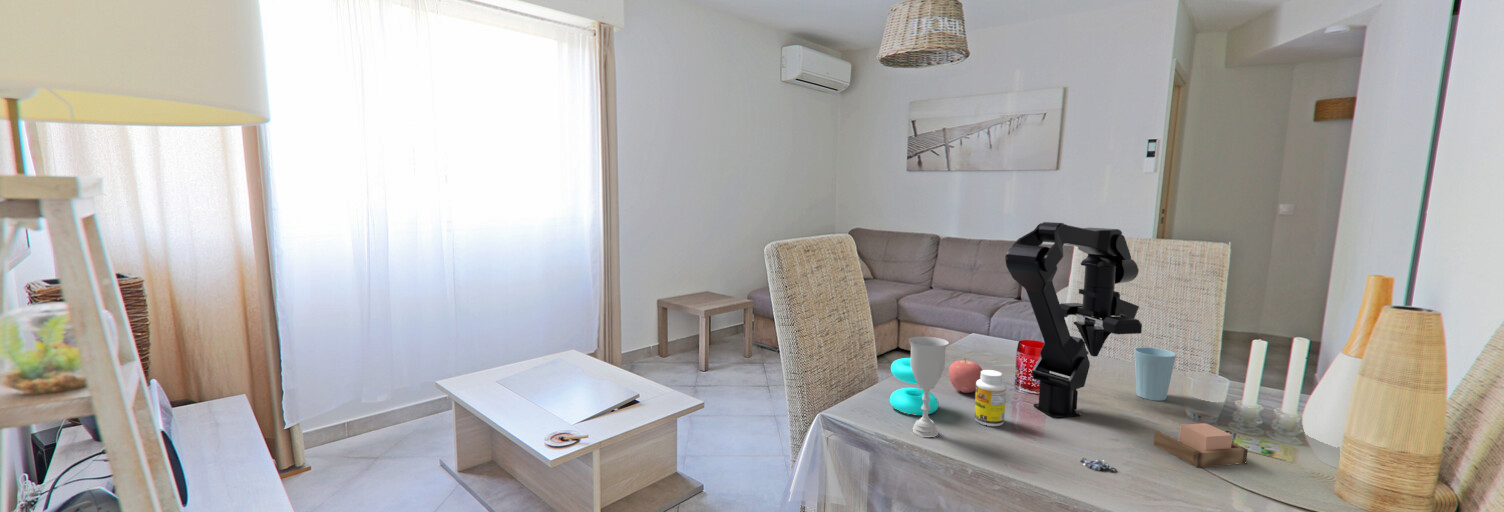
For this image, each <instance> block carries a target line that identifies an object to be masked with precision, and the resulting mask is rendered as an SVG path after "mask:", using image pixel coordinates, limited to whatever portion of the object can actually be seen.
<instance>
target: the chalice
mask: <svg viewBox="0 0 1504 512" xmlns="http://www.w3.org/2000/svg"><path fill="white" fill-rule="evenodd" d="M908 342H909V344H910V358H911V360H910V365H911V368H912V371H913V374H914V377H915V379H916V381H917V383H918V384H917V385H918V387H919V388H920V389H923V390H924V394H923V397H922V400H923V406H922V407H921V409H922V410H923V415H921V416H922V417H920V418H918V419H917V420H915V422H914V425H913V427H912V429H913V432H914V433H916V434H918V435H920V436H935V435H937V434H938V433H939V431H938V428H937V427H936V423H935V421H933V420H932V419H931V418H930V417H929V414H928V413H929V410H930V409H931V408H930V407H929V401H930V400H931V399H930V397H929V392H930V390H932V389H935V387H936V386H937V384H938V382H939V381H940V379H941V377H942V375H943V373H944V370H945V366H946V349H947V346H948V345H949V341H948V340H946V339H943V338H939V337H934V336H913V337H909V338H908Z"/></svg>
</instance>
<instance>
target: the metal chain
mask: <svg viewBox="0 0 1504 512" xmlns="http://www.w3.org/2000/svg"><path fill="white" fill-rule="evenodd" d="M1079 462H1080V463H1081V464H1082V465H1083V466H1085V467H1086V468H1087V469H1089V470H1092V471H1094V472H1103V473H1107V472H1108V473H1110V474H1114V473H1117V472H1118V470H1117V468H1115V467H1112V466H1110V464H1112V462H1111V463H1109V462H1108V463H1107V462H1105V460H1104V459H1102V460H1101V459H1094V460H1091V459H1090V458H1089V459H1088V458H1085V457H1082V459H1080V461H1079ZM1103 462H1104V463H1103Z"/></svg>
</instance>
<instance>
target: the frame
mask: <svg viewBox="0 0 1504 512" xmlns="http://www.w3.org/2000/svg"><path fill="white" fill-rule="evenodd" d="M1153 445H1154V446H1156V447H1158V448H1159V449H1161V450H1164V451H1166V453H1168V454H1171V455H1173V456H1175V457H1177V458H1178V459H1181V460H1182V461H1184V462H1186V463H1188V464H1190V465H1192V467H1193V466H1194V467H1196V468H1205V467H1206V468H1207V467H1217V466H1218V467H1219V466H1229V465H1228V464H1233V465H1237V464H1236V463H1245V462H1246V463H1247V461H1248V451H1249V449H1248V448H1246V447H1243V446H1241V445H1239V444H1236V443H1235V442H1232V444H1231V448H1229V449H1215V450H1201V451H1198V450H1196V449H1194V448H1192V447H1190V446H1188V445H1186V444H1184V443H1182V442H1179V440H1177V439H1176V438H1174V437H1171V436H1169V435H1168V434H1165V433H1163V432H1161V431H1159V430H1158V431H1156V430H1155V431H1154V435H1153Z"/></svg>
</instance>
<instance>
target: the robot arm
mask: <svg viewBox="0 0 1504 512" xmlns="http://www.w3.org/2000/svg"><path fill="white" fill-rule="evenodd" d="M1044 243H1052V245H1051V247H1049V246H1044V245H1043V246H1042V244H1044ZM1053 243H1054V244H1053ZM1064 245H1065V246H1066V245H1067V246H1073V247H1077V249H1078V250H1079V251H1081V252H1083V253H1085V254H1087V256H1086V257H1085V258H1084V259H1083V260H1082V261H1081V262H1080V266H1084V276H1083V277H1084V278H1083V288H1079V289H1078V294H1079V295H1082V303H1080V302H1067V303H1066V302H1065V303H1064V302H1063V303H1060V301H1059V298H1058V295H1057V292H1056V290H1055V285H1054V284H1053V280H1054V277H1055V275H1056V273H1057V272H1058V267H1057V266H1058V264H1059V263H1060V261H1061V260H1062V259H1063V258H1064V250H1063V249H1064V248H1063V247H1064ZM1004 258H1005V266H1006V268H1007V271H1008V272H1009V274H1010V275H1011V277H1012V279H1013V280H1014V281H1016V282H1017V283H1018V284H1019V285H1020V286H1022V288H1024V289H1025V292H1026V294H1027V296H1028V300H1029V302H1030V305H1031V308H1032V311H1033V313H1034V316H1035V320H1036V323H1037V325H1038V327H1039V330H1040V333H1041V336H1042V339H1043V341H1044V343H1043V346H1042V347H1041V349H1040V351H1039V353H1040V356H1039V358H1038V359H1037V362H1036V364H1035V365H1034V366H1033V369H1031V373H1032V378H1033V380H1038V381H1039V391H1038V392H1039V394H1038V395H1039V396H1038V403H1033V407H1034V408H1036V409H1037V410H1039V411H1040V412H1043V413H1044V414H1046V415H1047V416H1049V417H1052V418H1062V417H1063V418H1064V417H1065V418H1066V417H1079V416H1081V412H1079V411H1077V409H1078V408H1077V407H1078V395H1079V391H1078V390H1077V389H1081V388H1084V387H1085V385H1086V382H1087V377H1088V374H1089V370H1090V360H1089V356H1088V355H1090V356H1091V357H1099V354H1100V352H1101V350H1102V348H1103V346H1104V344H1105V342H1106V340H1107V339H1108V337H1109V336H1110V335H1111V334H1114V335H1133V334H1137V335H1138V334H1142V330H1143V329H1142V328H1143V323H1142V322H1141V321H1140V320H1139V319H1138V318H1136V316H1137V313H1138V311H1139V308H1140V306H1139V305H1137V304H1134V303H1131V302H1129V301H1126V300H1123V299H1121V293H1120V292H1119V291H1115V287H1116V285H1117V284H1124V283H1130V282H1131V281H1134V280H1135V279H1136V278H1137V277H1138V274H1139V271H1140V270H1139V267H1138V264H1137V263H1136V261H1135V260H1134V259H1132V255H1131V253H1130V250H1129V245H1128V244H1127V241H1126V238H1125V236H1124V235H1123V232H1122V231H1121V229H1119V228H1104V227H1084V228H1083V227H1078V226H1073V225H1069V224H1067V223H1066V224H1065V223H1064V222H1053V221H1050V222H1049V221H1044V222H1041V223H1039V224H1038V225H1037V226H1036V227H1035V228H1034V229H1033V230H1031V231H1030V232H1028V233H1026V234H1025V235H1023V236H1021V237H1019V238H1018V239H1017V240H1016V241H1015V242H1014V243H1013V244H1012V246H1011V247H1010V248H1009V249H1008V250H1007V252H1006V253H1005V257H1004ZM1068 316H1075V317H1076V321H1073V325H1074V326H1075V327H1076V328H1077V330H1078V332H1079V334H1080V336H1081V337H1076V336H1073V335H1071V334H1070V330H1069V328H1068V324H1067V320H1066V318H1067V317H1068ZM1051 372H1052V373H1051ZM1058 374H1059V375H1058ZM1061 375H1062V376H1061ZM1068 377H1069V378H1068Z"/></svg>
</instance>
